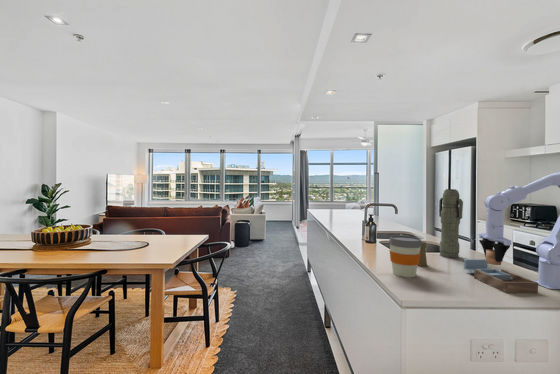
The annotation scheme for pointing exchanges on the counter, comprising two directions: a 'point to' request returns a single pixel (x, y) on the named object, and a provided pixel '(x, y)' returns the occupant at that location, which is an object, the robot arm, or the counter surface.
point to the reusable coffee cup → (405, 255)
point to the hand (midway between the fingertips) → (493, 259)
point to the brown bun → (491, 257)
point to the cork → (423, 254)
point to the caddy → (508, 282)
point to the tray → (484, 268)
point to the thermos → (450, 223)
